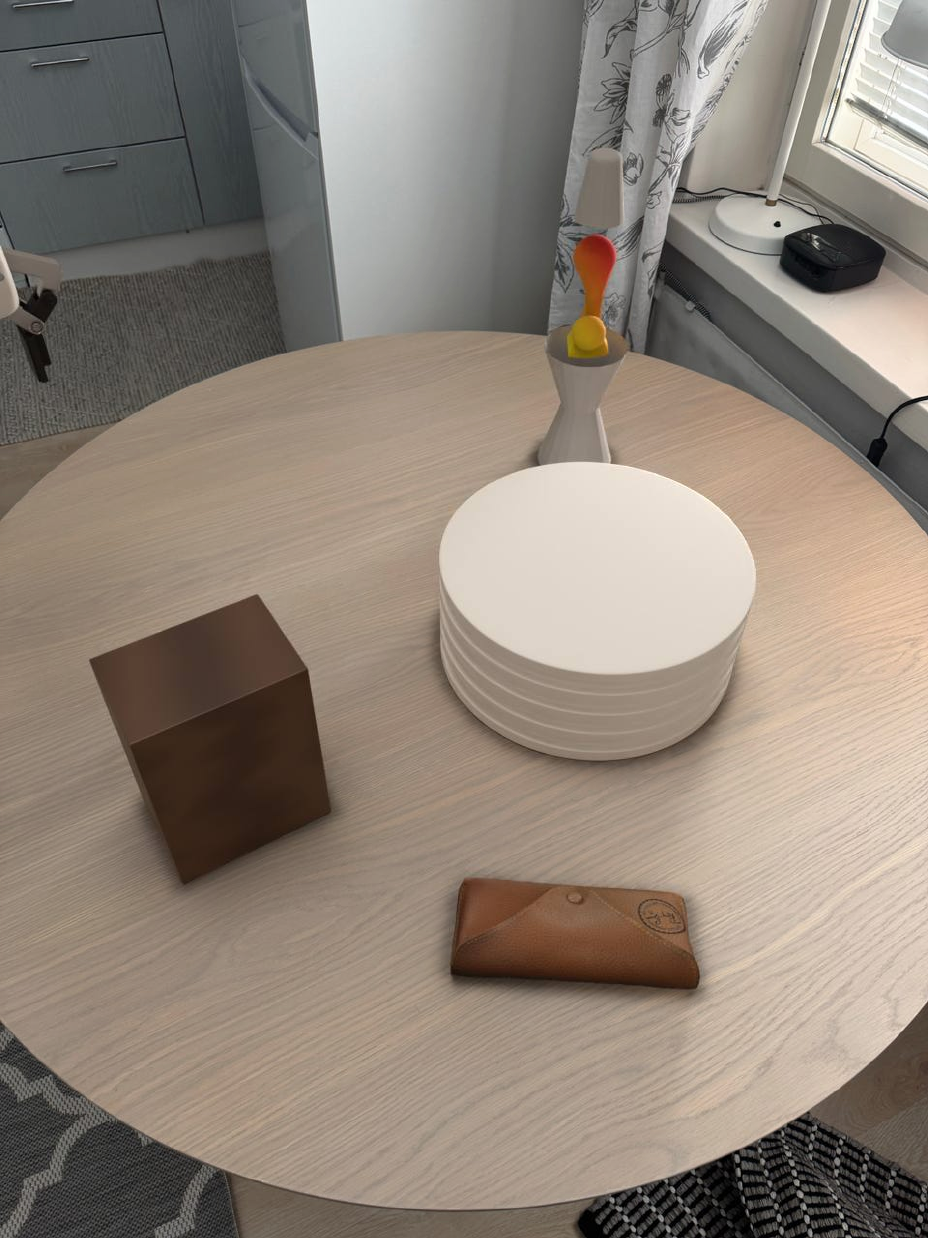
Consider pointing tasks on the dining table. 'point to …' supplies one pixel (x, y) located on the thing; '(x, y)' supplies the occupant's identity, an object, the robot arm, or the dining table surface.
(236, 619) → the brown box
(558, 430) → the lava lamp
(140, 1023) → the dining table surface
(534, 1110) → the dining table surface
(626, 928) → the sunglasses case
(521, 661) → the plate stack
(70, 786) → the dining table surface
